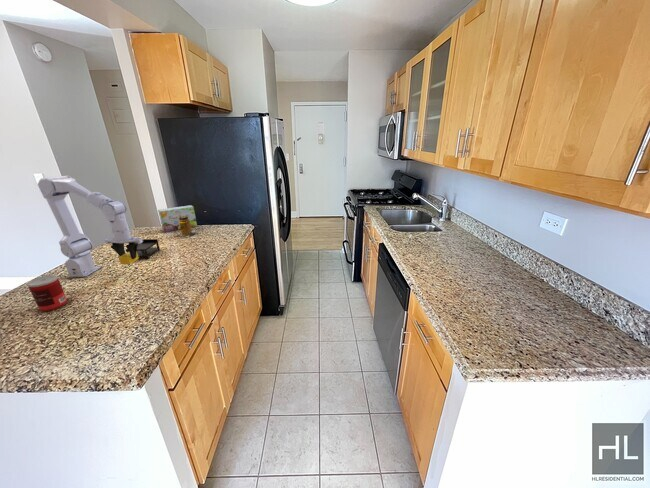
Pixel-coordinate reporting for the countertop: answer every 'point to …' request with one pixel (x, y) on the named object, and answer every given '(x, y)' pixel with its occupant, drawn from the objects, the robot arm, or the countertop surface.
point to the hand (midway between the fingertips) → (129, 258)
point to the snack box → (176, 217)
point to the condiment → (185, 226)
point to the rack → (147, 247)
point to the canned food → (47, 292)
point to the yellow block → (127, 258)
